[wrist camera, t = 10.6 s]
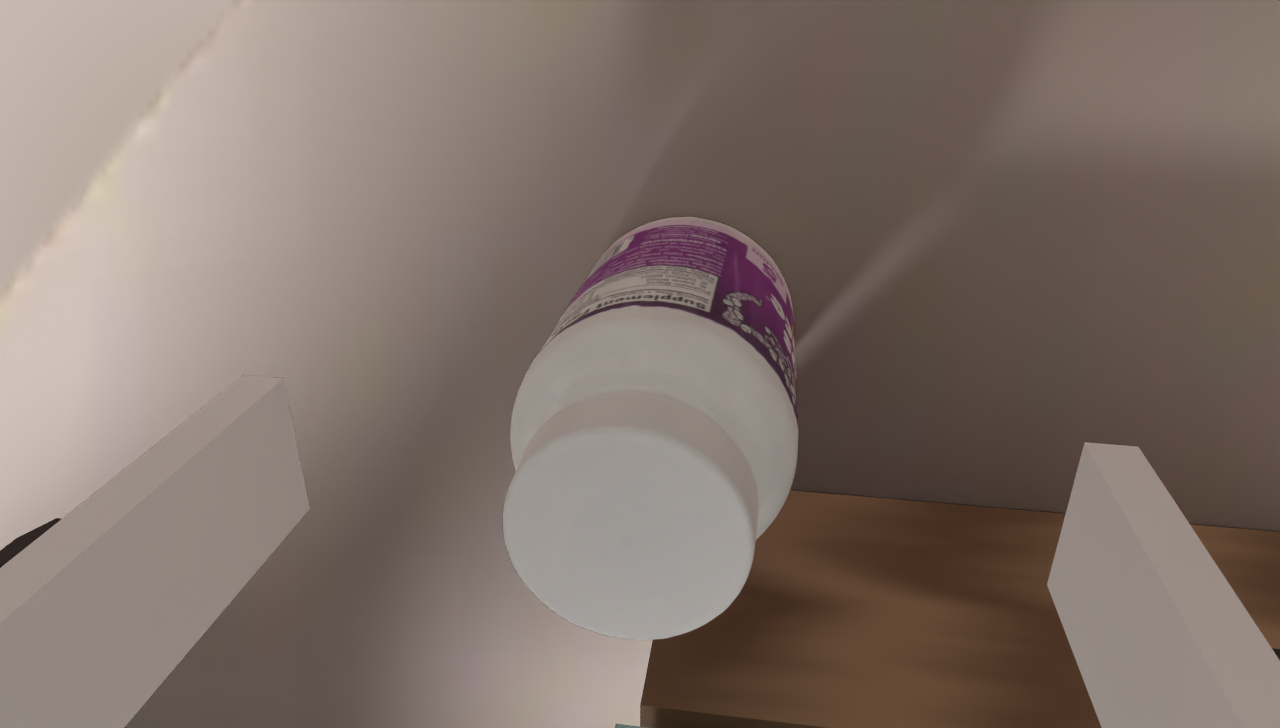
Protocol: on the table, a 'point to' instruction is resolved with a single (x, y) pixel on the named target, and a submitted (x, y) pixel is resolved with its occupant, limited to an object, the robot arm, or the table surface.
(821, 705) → the keepsake box
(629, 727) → the lid
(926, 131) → the table surface
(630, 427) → the pill bottle
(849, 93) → the table surface
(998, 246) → the table surface
